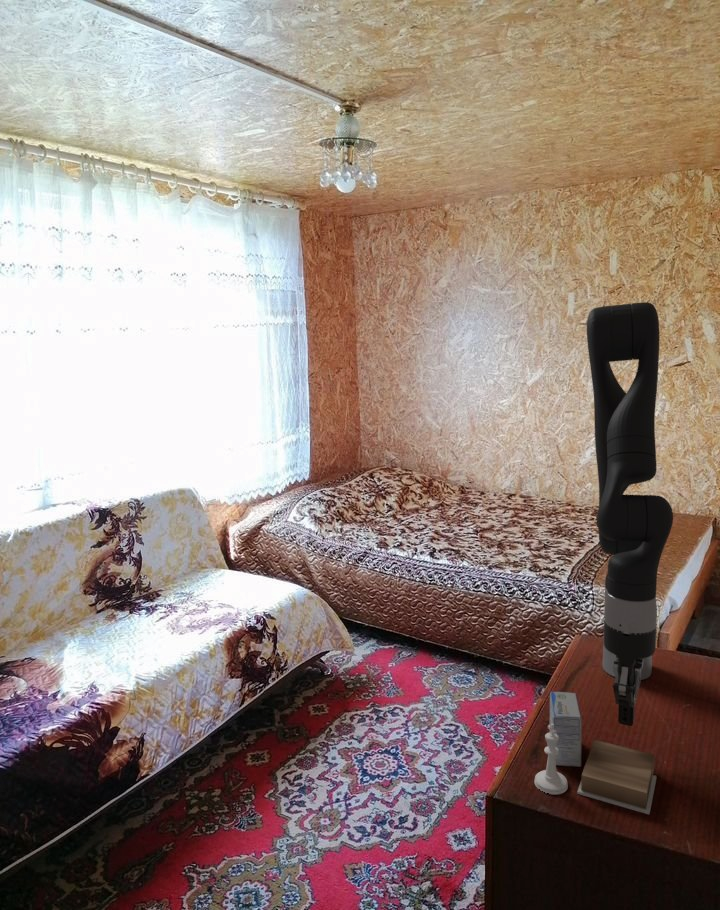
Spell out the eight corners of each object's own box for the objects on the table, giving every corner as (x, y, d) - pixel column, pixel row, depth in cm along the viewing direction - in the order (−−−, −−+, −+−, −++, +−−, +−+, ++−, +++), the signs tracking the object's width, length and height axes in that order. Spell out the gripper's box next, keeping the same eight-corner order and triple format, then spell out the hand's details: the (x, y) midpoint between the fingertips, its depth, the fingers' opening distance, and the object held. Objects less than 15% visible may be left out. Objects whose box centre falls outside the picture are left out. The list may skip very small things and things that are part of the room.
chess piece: (545, 797, 101) (546, 736, 99) (528, 777, 105) (529, 718, 104) (574, 790, 102) (576, 730, 100) (556, 771, 107) (557, 712, 105)
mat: (589, 760, 109) (589, 758, 109) (656, 778, 104) (656, 775, 104) (577, 793, 101) (577, 791, 101) (649, 814, 96) (649, 812, 96)
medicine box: (581, 768, 107) (582, 718, 106) (552, 765, 108) (553, 716, 107) (575, 739, 115) (577, 692, 113) (548, 737, 116) (549, 690, 114)
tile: (594, 739, 109) (581, 775, 101) (654, 754, 105) (646, 793, 96) (593, 754, 110) (581, 791, 101) (653, 770, 106) (646, 809, 97)
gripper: (611, 601, 112) (608, 697, 116) (596, 633, 101) (593, 738, 104) (660, 609, 109) (656, 708, 112) (651, 642, 97) (646, 751, 101)
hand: (626, 722), depth 108 cm, fingers closed
